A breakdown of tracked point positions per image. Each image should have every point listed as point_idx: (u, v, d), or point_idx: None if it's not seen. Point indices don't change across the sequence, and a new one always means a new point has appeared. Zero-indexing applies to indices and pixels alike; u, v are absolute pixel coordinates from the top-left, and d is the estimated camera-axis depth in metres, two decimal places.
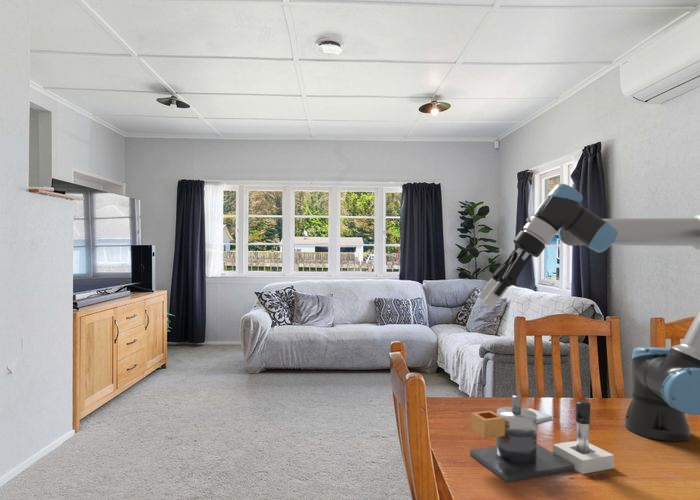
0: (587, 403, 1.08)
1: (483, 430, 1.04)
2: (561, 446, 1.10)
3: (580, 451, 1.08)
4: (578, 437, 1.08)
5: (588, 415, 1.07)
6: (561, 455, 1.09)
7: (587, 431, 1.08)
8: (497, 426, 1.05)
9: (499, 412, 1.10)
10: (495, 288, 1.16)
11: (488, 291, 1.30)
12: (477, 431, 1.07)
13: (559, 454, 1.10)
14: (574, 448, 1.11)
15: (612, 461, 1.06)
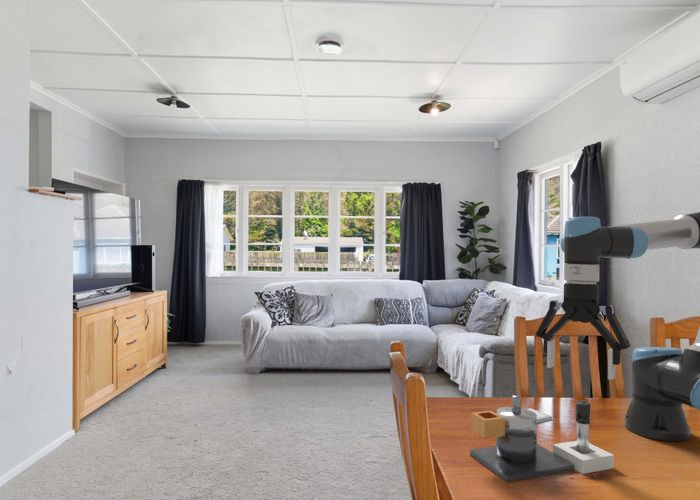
0: (587, 403, 1.08)
1: (483, 430, 1.04)
2: (561, 446, 1.10)
3: (580, 451, 1.08)
4: (578, 437, 1.08)
5: (588, 415, 1.07)
6: (561, 455, 1.09)
7: (587, 431, 1.08)
8: (497, 426, 1.05)
9: (499, 412, 1.10)
10: (612, 359, 1.03)
11: (552, 355, 1.14)
12: (477, 431, 1.07)
13: (559, 454, 1.10)
14: (574, 448, 1.11)
15: (612, 461, 1.06)
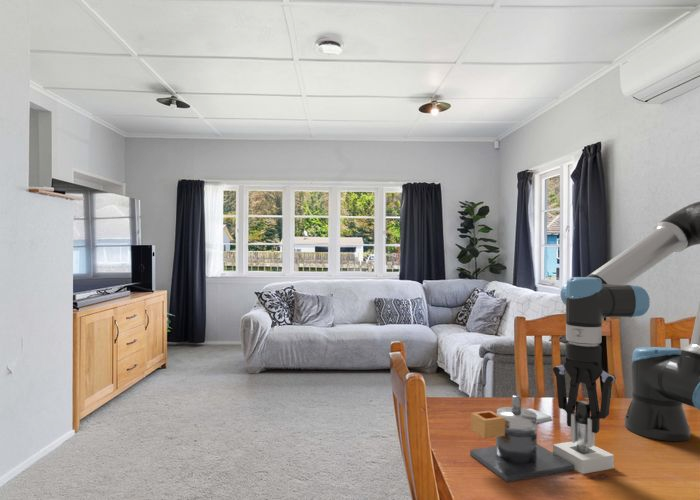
0: (587, 403, 1.08)
1: (483, 430, 1.04)
2: (561, 446, 1.10)
3: (580, 451, 1.08)
4: (578, 437, 1.08)
5: (588, 415, 1.07)
6: (561, 455, 1.09)
7: (587, 431, 1.08)
8: (497, 426, 1.05)
9: (499, 412, 1.10)
10: (591, 427, 1.07)
11: (576, 428, 1.10)
12: (477, 431, 1.07)
13: (559, 454, 1.10)
14: (574, 448, 1.11)
15: (612, 461, 1.06)
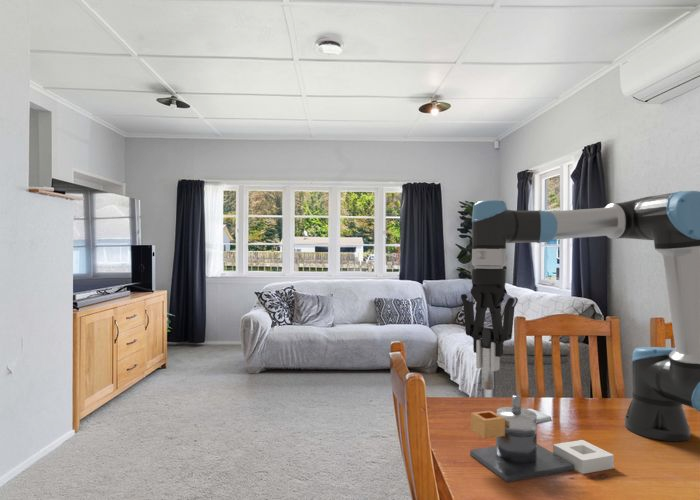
0: (492, 327, 1.07)
1: (483, 430, 1.04)
2: (561, 446, 1.10)
3: (484, 376, 1.07)
4: (483, 362, 1.07)
5: (492, 339, 1.06)
6: (561, 455, 1.09)
7: None
8: (497, 426, 1.05)
9: (499, 412, 1.10)
10: (494, 351, 1.05)
11: None
12: (477, 431, 1.07)
13: (559, 454, 1.10)
14: (574, 448, 1.11)
15: (612, 461, 1.06)
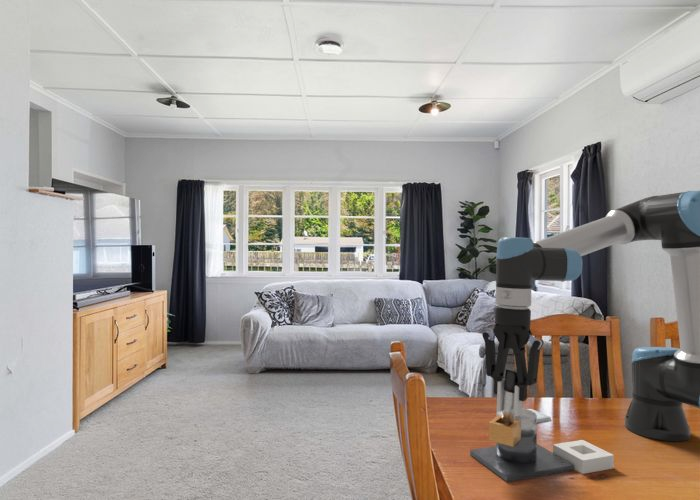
0: None
1: (511, 438, 1.00)
2: (561, 446, 1.10)
3: (506, 421, 1.03)
4: (505, 406, 1.03)
5: None
6: (561, 455, 1.09)
7: None
8: (518, 430, 1.03)
9: None
10: (518, 395, 1.01)
11: (503, 397, 1.04)
12: (499, 440, 1.02)
13: (559, 454, 1.10)
14: (574, 448, 1.11)
15: (612, 461, 1.06)
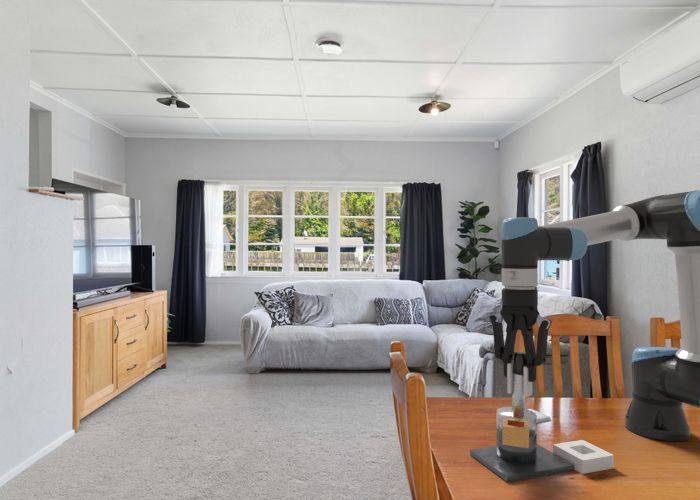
0: None
1: (527, 440, 0.99)
2: (561, 446, 1.10)
3: (517, 404, 1.01)
4: (516, 390, 1.02)
5: None
6: (561, 455, 1.09)
7: None
8: None
9: (508, 417, 1.07)
10: (527, 376, 1.00)
11: (513, 379, 1.04)
12: (514, 443, 1.00)
13: (559, 454, 1.10)
14: (574, 448, 1.11)
15: (612, 461, 1.06)
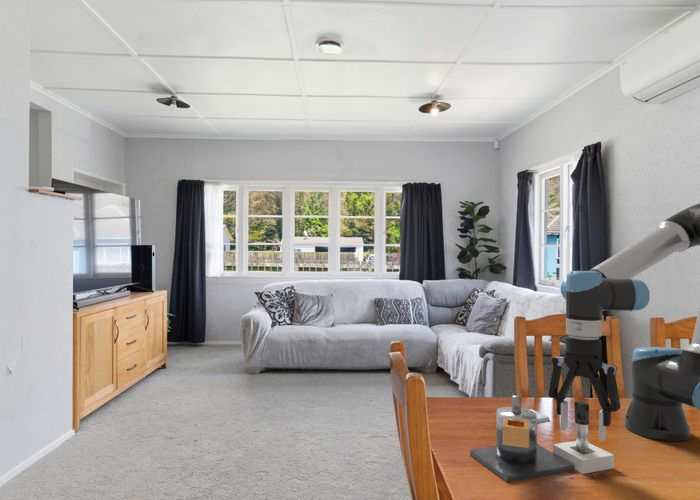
0: (585, 403, 1.08)
1: (527, 440, 0.99)
2: (561, 446, 1.10)
3: (582, 452, 1.07)
4: (579, 438, 1.08)
5: (588, 415, 1.07)
6: (561, 455, 1.09)
7: (587, 431, 1.07)
8: None
9: (508, 417, 1.07)
10: (603, 420, 1.05)
11: (566, 417, 1.12)
12: (514, 443, 1.00)
13: (559, 454, 1.10)
14: (574, 448, 1.11)
15: (612, 461, 1.06)
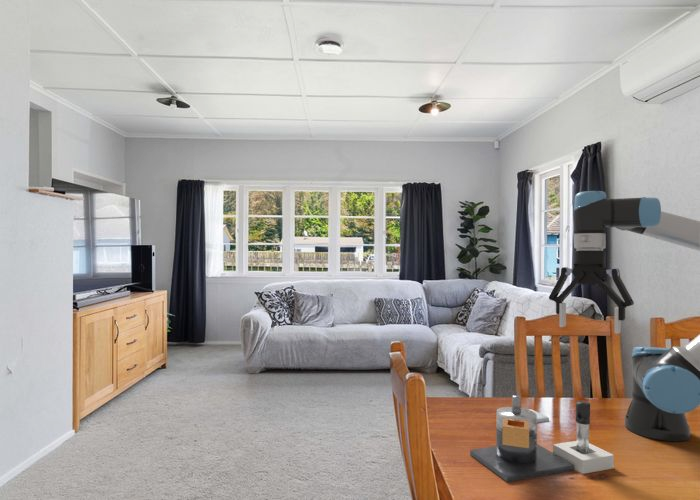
0: (586, 402, 1.09)
1: (527, 440, 0.99)
2: (561, 446, 1.10)
3: (582, 452, 1.07)
4: (580, 438, 1.08)
5: (589, 415, 1.08)
6: (561, 455, 1.09)
7: (588, 431, 1.08)
8: None
9: (508, 417, 1.07)
10: (618, 315, 1.18)
11: (564, 316, 1.28)
12: (514, 443, 1.00)
13: (559, 454, 1.10)
14: (574, 448, 1.11)
15: (612, 461, 1.06)
